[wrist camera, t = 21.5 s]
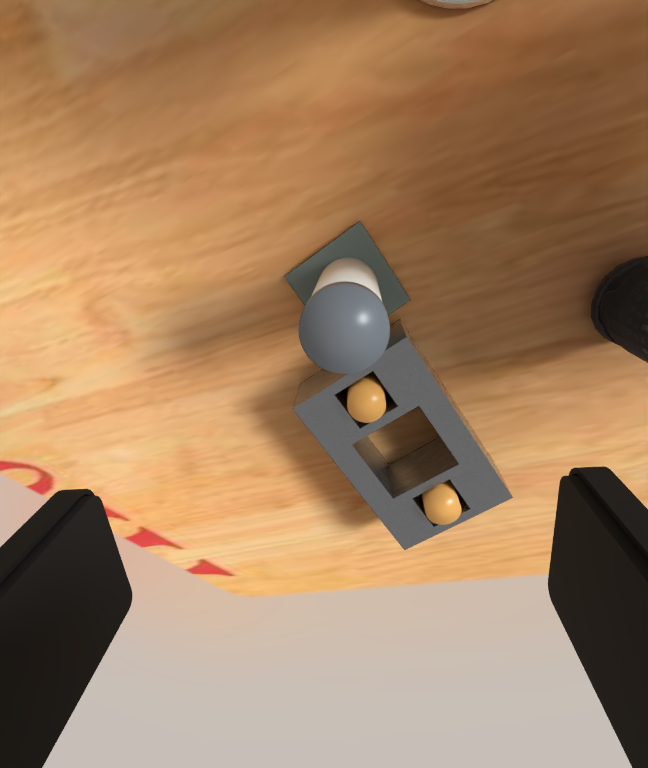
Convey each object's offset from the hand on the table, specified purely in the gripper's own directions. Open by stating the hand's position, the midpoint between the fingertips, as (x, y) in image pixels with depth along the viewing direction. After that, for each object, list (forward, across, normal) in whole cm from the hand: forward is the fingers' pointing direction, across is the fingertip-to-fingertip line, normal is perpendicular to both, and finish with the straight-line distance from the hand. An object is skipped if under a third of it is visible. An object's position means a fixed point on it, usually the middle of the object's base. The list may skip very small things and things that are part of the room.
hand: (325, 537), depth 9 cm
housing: (+28, -4, +12) cm, 31 cm away
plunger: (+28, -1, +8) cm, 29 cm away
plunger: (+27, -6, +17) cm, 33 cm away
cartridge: (+28, 0, 0) cm, 28 cm away
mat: (+28, 0, 0) cm, 28 cm away
